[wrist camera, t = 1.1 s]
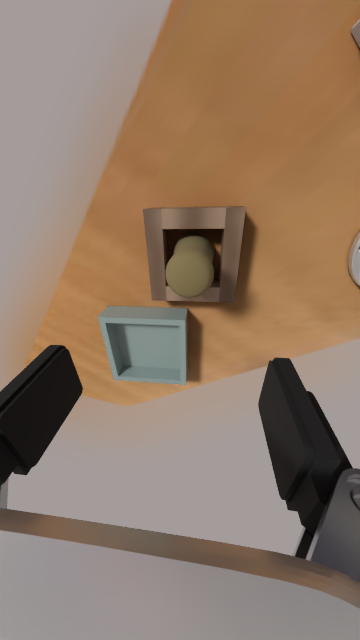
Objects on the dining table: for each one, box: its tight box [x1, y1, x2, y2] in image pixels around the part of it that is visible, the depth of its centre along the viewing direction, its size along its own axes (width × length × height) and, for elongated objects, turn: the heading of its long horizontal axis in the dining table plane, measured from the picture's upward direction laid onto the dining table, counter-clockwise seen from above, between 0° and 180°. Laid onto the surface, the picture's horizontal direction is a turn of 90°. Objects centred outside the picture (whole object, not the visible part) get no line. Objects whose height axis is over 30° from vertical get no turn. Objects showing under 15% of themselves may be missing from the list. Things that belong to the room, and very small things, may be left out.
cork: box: [166, 232, 215, 298], centre depth 26 cm, size 6×6×11 cm
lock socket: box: [143, 206, 246, 302], centre depth 29 cm, size 12×12×4 cm
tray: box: [98, 306, 188, 385], centre depth 38 cm, size 14×14×4 cm
